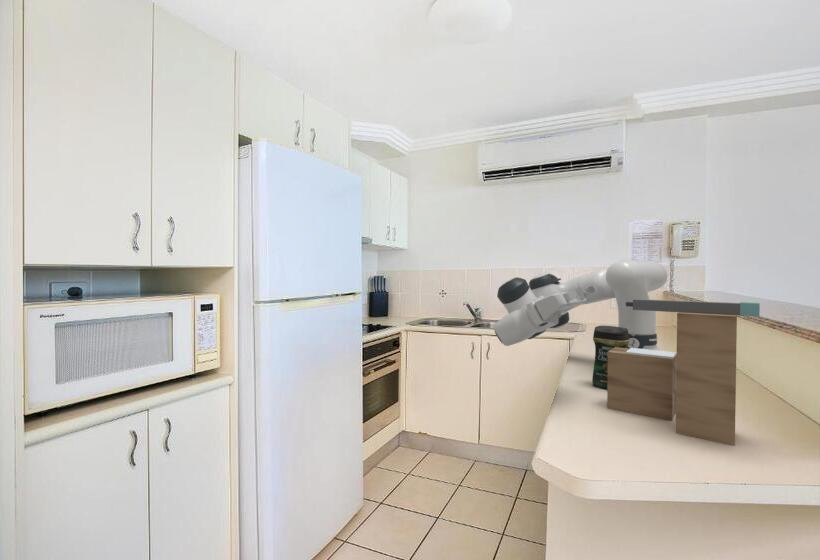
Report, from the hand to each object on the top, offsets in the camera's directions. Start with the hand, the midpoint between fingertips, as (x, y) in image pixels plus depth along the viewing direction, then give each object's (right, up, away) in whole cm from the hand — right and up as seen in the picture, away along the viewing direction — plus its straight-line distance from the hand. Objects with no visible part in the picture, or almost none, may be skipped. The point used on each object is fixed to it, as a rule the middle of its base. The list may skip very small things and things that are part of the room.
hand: (589, 288), depth 105 cm
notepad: (+13, -16, -4) cm, 21 cm away
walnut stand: (+14, -31, -10) cm, 35 cm away
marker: (+15, -5, -16) cm, 22 cm away
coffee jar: (+14, -30, +17) cm, 38 cm away
